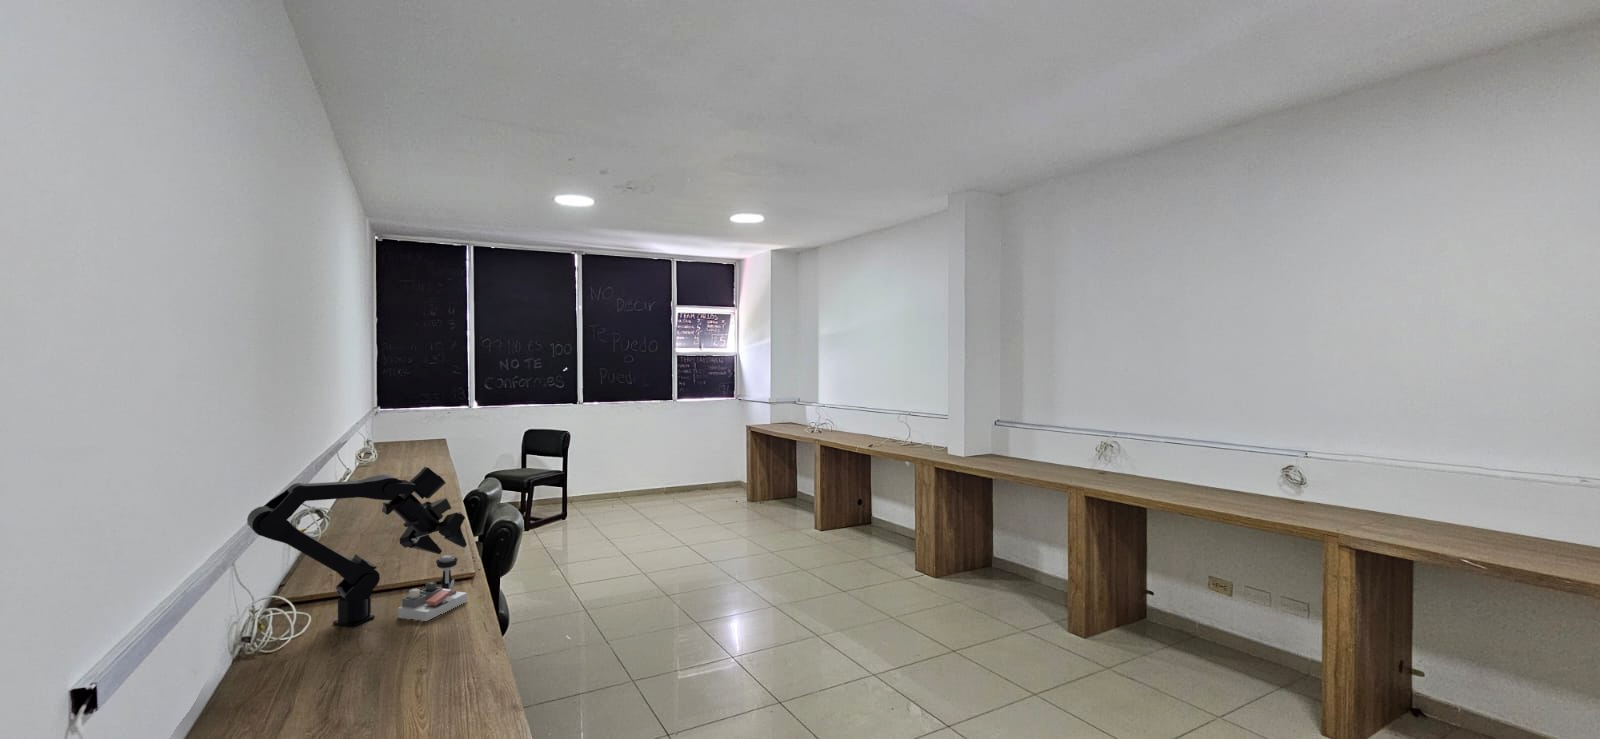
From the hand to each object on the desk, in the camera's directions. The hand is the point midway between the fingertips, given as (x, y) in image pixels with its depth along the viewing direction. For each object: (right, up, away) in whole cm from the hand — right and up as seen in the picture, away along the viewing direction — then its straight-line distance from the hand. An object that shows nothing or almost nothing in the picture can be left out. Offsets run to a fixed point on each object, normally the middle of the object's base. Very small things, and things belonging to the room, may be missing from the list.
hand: (453, 549), depth 189 cm
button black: (-2, -9, -7) cm, 12 cm away
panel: (-1, -13, -9) cm, 16 cm away
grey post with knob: (-4, -13, +5) cm, 15 cm away
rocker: (+2, -10, -10) cm, 15 cm away
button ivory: (-4, -9, -12) cm, 16 cm away
